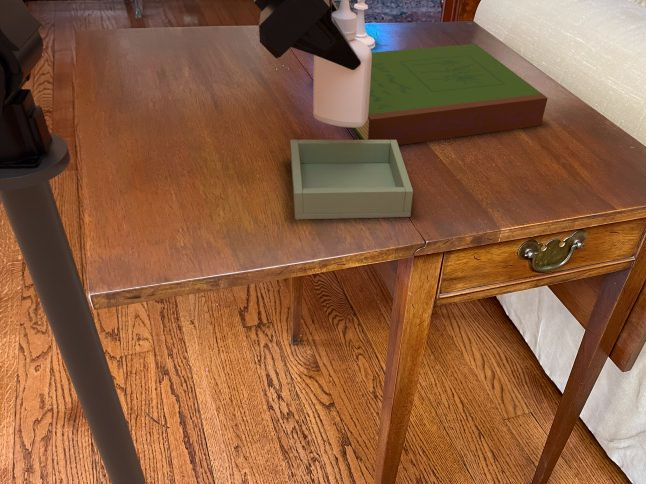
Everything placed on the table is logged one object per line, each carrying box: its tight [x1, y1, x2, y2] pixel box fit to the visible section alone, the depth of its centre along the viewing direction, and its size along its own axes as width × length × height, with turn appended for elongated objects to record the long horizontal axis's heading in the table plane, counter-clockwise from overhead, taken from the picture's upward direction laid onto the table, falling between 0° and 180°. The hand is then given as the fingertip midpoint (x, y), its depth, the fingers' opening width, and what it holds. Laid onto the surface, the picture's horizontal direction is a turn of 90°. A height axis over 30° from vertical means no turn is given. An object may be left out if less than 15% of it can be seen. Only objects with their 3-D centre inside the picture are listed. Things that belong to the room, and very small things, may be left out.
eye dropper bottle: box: [312, 0, 372, 129], centre depth 63 cm, size 4×6×12 cm
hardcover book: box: [352, 43, 549, 146], centre depth 84 cm, size 25×19×4 cm
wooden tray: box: [290, 139, 414, 221], centre depth 67 cm, size 12×11×3 cm
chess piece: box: [353, 0, 376, 50], centre depth 96 cm, size 5×5×10 cm
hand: (356, 58), depth 63 cm, fingers closed on eye dropper bottle, 4 cm apart
